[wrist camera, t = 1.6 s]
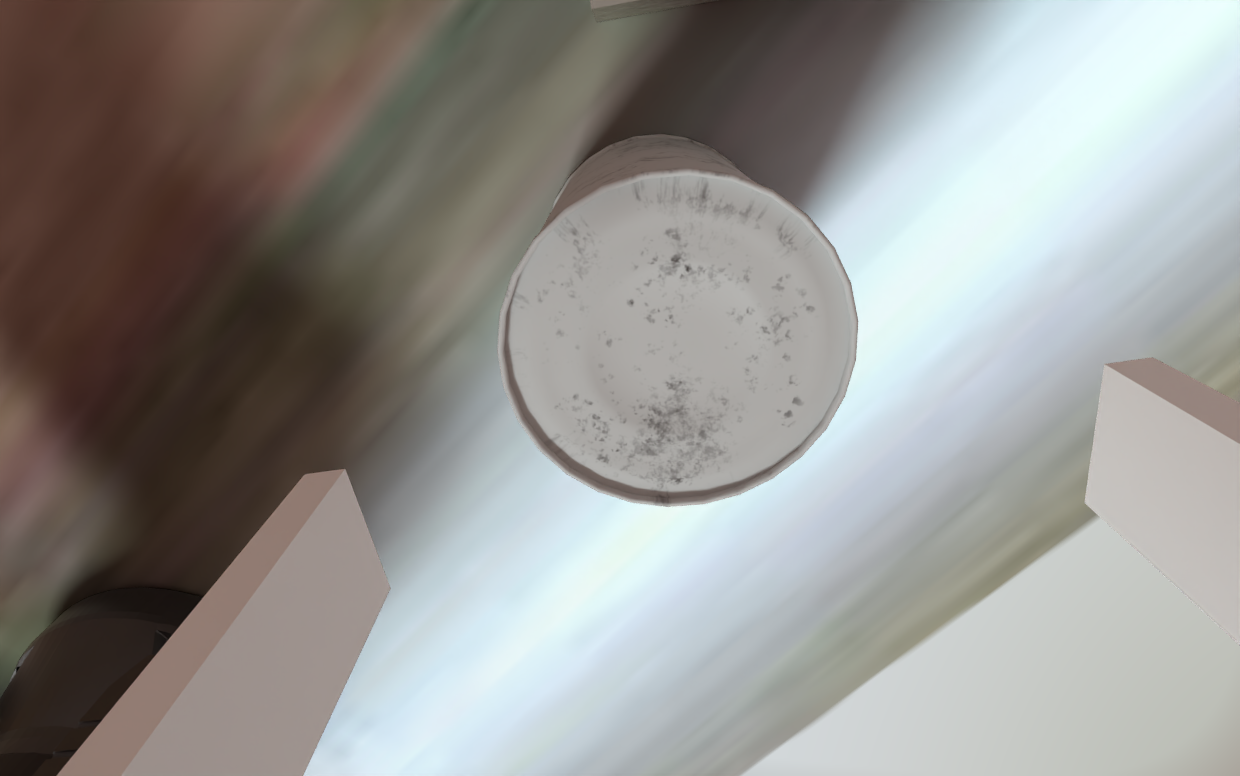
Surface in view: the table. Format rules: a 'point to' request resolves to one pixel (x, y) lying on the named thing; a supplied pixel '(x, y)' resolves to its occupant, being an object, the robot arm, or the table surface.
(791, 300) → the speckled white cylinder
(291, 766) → the robot arm
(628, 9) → the gearbox
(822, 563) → the table surface
